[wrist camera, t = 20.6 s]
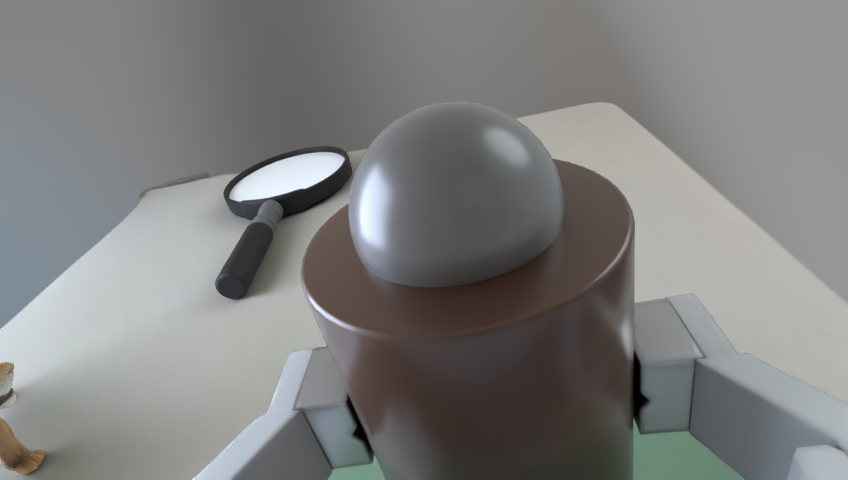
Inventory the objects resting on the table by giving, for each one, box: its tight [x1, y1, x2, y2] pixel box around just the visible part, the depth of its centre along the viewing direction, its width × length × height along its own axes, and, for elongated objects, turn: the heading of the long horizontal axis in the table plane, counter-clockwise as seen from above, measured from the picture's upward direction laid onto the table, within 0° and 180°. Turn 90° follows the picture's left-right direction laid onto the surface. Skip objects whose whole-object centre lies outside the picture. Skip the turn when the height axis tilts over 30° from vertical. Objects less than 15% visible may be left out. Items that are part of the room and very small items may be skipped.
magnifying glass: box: [215, 146, 352, 299], centre depth 44 cm, size 12×24×2 cm, turn 0°
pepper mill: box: [301, 102, 635, 480], centre depth 10 cm, size 5×5×14 cm
